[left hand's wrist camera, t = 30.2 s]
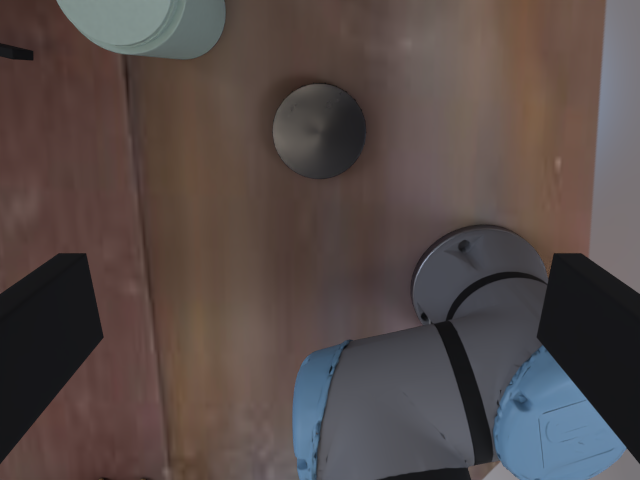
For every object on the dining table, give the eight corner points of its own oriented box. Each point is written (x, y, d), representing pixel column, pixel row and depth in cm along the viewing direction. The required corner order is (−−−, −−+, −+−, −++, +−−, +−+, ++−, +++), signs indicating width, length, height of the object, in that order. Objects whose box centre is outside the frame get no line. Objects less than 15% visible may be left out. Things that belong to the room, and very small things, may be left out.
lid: (254, 127, 46) (252, 129, 44) (323, 61, 43) (323, 61, 42) (315, 193, 48) (315, 197, 47) (383, 135, 46) (385, 137, 44)
